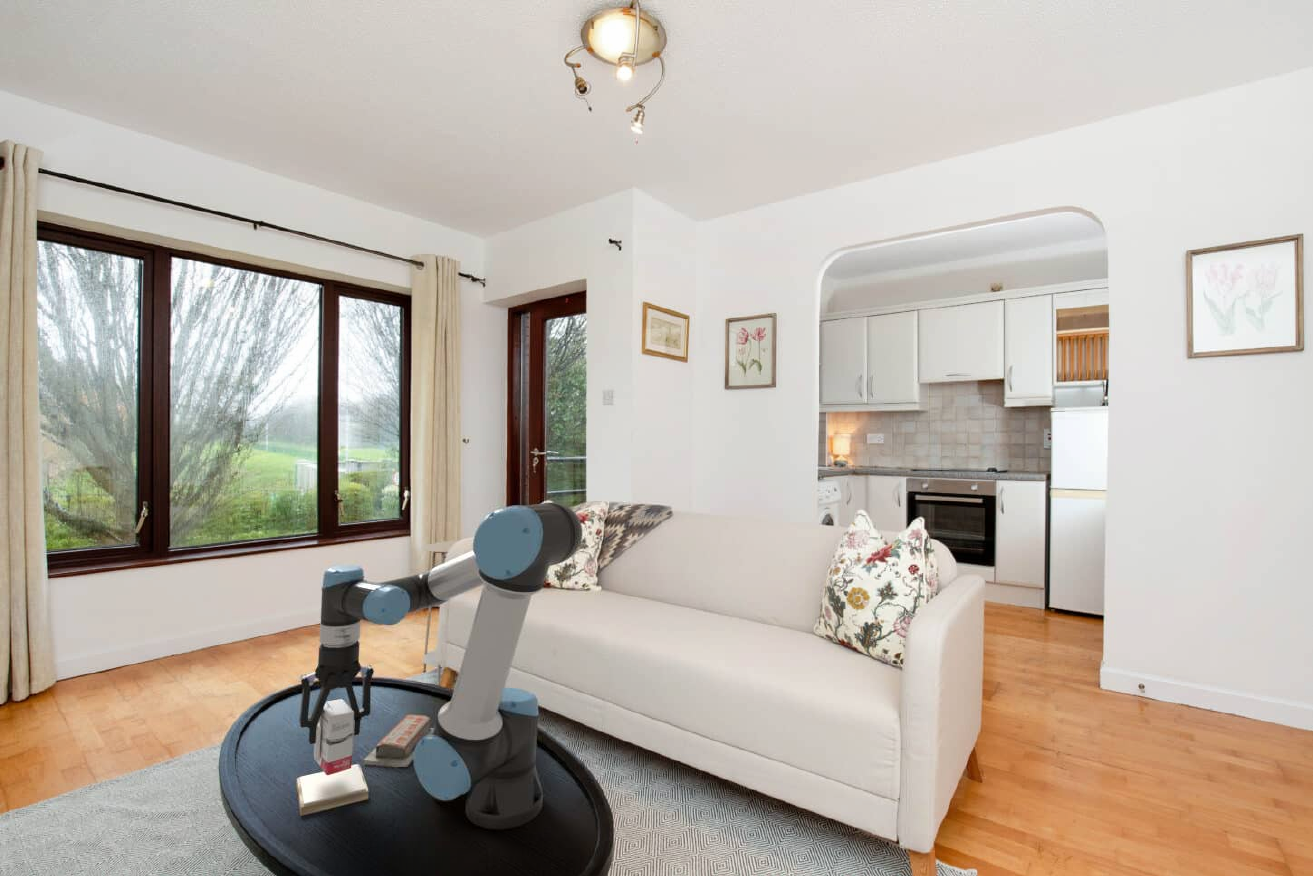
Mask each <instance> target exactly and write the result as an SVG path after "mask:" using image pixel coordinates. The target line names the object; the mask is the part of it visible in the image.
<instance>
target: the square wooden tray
mask: <svg viewBox="0 0 1313 876" xmlns="http://www.w3.org/2000/svg"><path fill="white" fill-rule="evenodd" d="M363 773H364V772H363V770H362V767H361V764H360V763H359V764H358V763H356V764H351V768H350V769H347V770H344V771H341V772H338V773H334V774H331V775H326V774H325V772H324V771H320V772H317V773H316V772H315V773H311V774H307V775H302V776H300V777H297V778H296V792H297V800H298V806H299V813H300V814H299V815H300V817H302V816H305V815H309V814H314V813H318V812H322V811H326V810H330V809H334V808H337V807H341V806H344V805H345V806H346V805H349V804H353V803H356V802H357V803H358V802H360V801H361V802H362V801H365V800H369V792H370V791H369V788H368V785H367V782H366V779H365V776H364V774H363Z"/></svg>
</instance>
